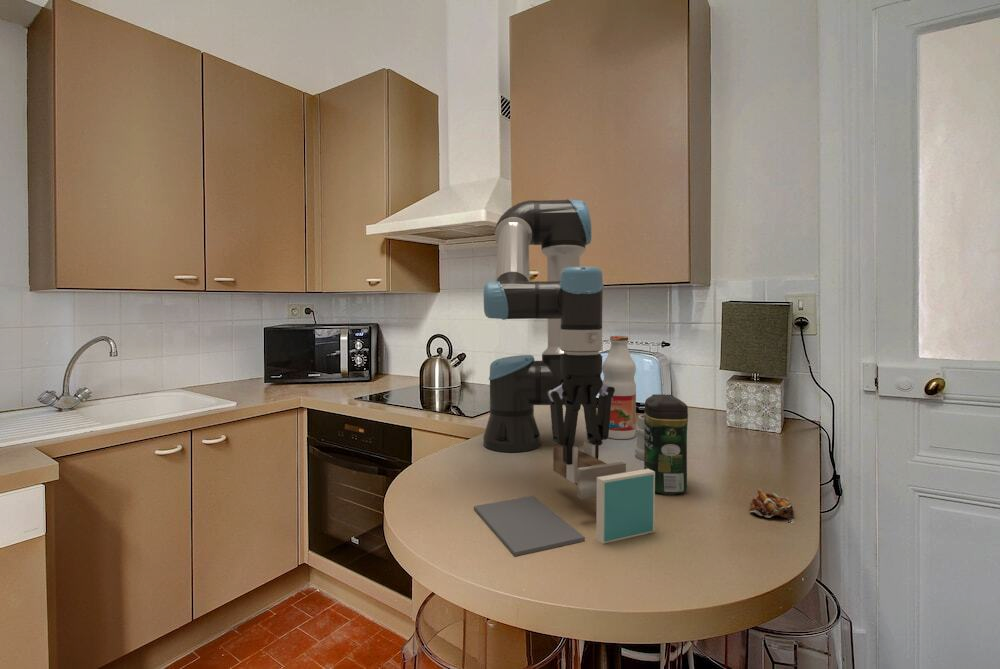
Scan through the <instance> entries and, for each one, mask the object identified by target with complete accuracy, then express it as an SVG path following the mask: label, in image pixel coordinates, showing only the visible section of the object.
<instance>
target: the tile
mask: <svg viewBox="0 0 1000 669" xmlns="http://www.w3.org/2000/svg"><path fill="white" fill-rule="evenodd" d="M655 493H656V492H655V472H654V471H652V470H650V469H644V468H643V469H640V470H639V469H638V470H633V471H626V472H625V473H619V474H613V475H607V476H601V477H597V497H596V512H595V513H596V523H595V525H596V526H595V527H596V528H595V529H596V530H595V531H596V532H595V536H596V539H595V540H596V541H598V542H599V543H600V544H601V545H604V544H607V543H608V544H609V543H613V542H617V541H621V540H626V539H630V538H635V537H638V536H643V535H648V534H651V533H655V503H656V501H655V500H656V496H655V495H656V494H655Z"/></svg>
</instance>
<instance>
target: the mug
mask: <svg viewBox="0 0 1000 669" xmlns="http://www.w3.org/2000/svg"><path fill="white" fill-rule="evenodd" d="M644 422H645V413H644V414H643V413H642V414H639V415H638V416H637V427H636V433H637V435H636V445H635V447H634V453H636V455H635V456H636V458H637V459H639V460H641V461H644Z"/></svg>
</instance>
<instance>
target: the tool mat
mask: <svg viewBox="0 0 1000 669" xmlns="http://www.w3.org/2000/svg"><path fill="white" fill-rule="evenodd" d="M473 510H474V511H475V512H476V513H477V515H478V516H479V517H480V518H481V519H482V521H483V522H484V523H485V524H486V525H487V526H488V527H489V528H490V529H491V531H492V532H493V533H494V534H495V535H496V537H497V538H498V539H499V540H500V541H501V542H502V544H503V545H504V546H505V547H506V548H507V549H508V551H510V553H511V554H512V556H514V557H518V556H522V555H523V556H524V555H526V554H527V555H529V554H531V553H536V552H541V551H545V550H546V551H547V550H549V549H550V550H551V549H554V548H558V547H563V546H568V545H569V546H570V545H572V544H576V543H577V544H578V543H581V542H585V540H586V536H584V535H582V533H580V532H579V531H578V530H577V529H575V528H574V527H573V526H572V525H570V524H569V523H568V522H567V521H565V520H564V519H563V518H562V517H560V516H559V515H558V514H557V513H556V512H555V511H553V510H552V509H550V508H549V507H548V506H547V505H546V504H545V503H543V502H542V501H540V500H539V499H538V498H537V497H536V496H534V495H532V496H531V495H530V496H525V497H519V498H514V499H508V500H507V499H506V500H501V501H495V502H490V503H485V504H477V505H474V506H473Z"/></svg>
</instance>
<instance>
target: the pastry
mask: <svg viewBox="0 0 1000 669" xmlns="http://www.w3.org/2000/svg"><path fill="white" fill-rule="evenodd" d="M757 493H758V495H756V498H753V499H752V501H751V502H749V504H750V506H749V513H755V514H756V515H758V516H761V517H765V518H769V519H770V518H772V517H774V516H778V517H782V518H786V519H787V520H788V523H790V524H789V525H795V524H794V523H795V520H794V521H790V522H789V520H792V519H794V518H793V516H792V514H791V513H792V511H793V510H794V508H793V507H794V506H793V504H792V503H791V502H790V500H789V498H787V497H782V496H779V495H777V493H774V492H772V493H769V492H767V493H764V492H763V490H762V489H760V488H759V487H758V489H757ZM788 523H787V524H788Z"/></svg>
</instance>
